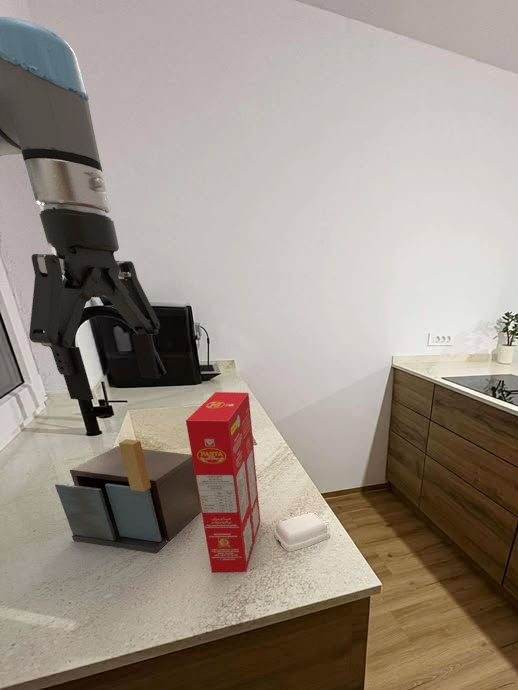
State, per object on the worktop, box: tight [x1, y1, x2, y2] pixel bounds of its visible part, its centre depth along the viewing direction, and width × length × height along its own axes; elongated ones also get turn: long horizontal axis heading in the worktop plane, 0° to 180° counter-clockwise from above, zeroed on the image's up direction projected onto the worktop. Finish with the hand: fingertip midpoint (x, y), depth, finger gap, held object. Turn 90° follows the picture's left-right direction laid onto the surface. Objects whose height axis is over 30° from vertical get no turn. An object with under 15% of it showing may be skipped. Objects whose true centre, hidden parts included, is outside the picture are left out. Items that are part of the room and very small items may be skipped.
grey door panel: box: [105, 438, 162, 542], centre depth 62 cm, size 8×2×18 cm, turn 80°
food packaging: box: [185, 391, 261, 573], centre depth 62 cm, size 15×5×25 cm, turn 4°
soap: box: [273, 512, 331, 553], centre depth 70 cm, size 9×7×3 cm
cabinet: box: [54, 445, 202, 554], centre depth 69 cm, size 16×14×12 cm
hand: (119, 387), depth 56 cm, fingers open, 13 cm apart
